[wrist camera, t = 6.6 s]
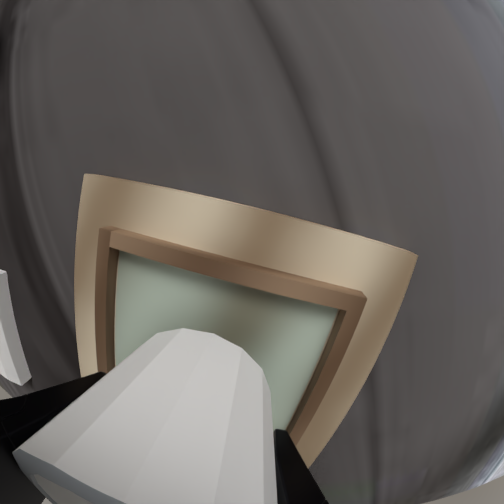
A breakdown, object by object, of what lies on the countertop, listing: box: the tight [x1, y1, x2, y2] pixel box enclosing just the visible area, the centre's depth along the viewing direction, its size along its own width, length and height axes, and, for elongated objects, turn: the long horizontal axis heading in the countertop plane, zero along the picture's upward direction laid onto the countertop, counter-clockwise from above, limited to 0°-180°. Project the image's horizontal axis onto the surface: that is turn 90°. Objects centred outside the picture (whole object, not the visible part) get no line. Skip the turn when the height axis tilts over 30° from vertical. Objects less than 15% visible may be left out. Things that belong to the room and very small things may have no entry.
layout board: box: [74, 174, 418, 468], centre depth 11 cm, size 14×14×2 cm
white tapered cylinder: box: [12, 328, 277, 504], centre depth 6 cm, size 7×7×7 cm
